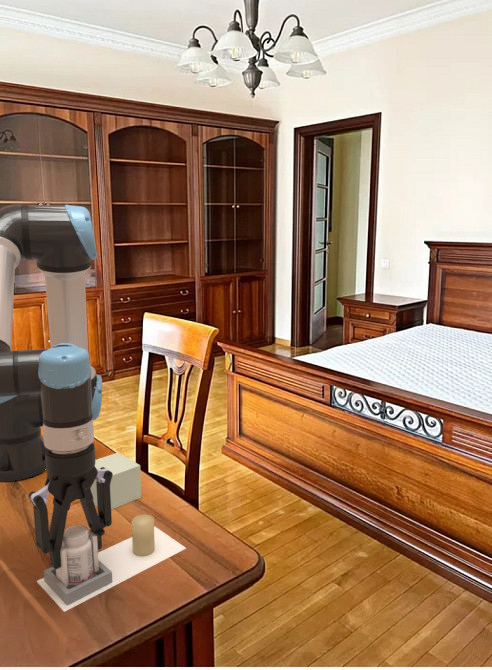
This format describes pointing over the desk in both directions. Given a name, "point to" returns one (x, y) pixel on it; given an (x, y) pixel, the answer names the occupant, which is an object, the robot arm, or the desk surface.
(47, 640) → the desk surface
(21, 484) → the desk surface
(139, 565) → the board
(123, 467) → the housing
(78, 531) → the pill bottle
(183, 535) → the desk surface
